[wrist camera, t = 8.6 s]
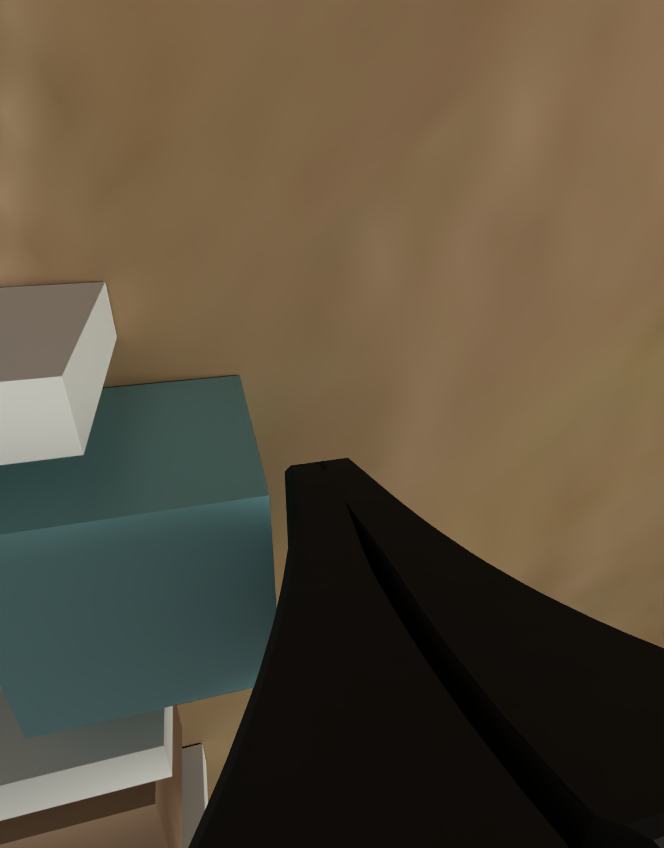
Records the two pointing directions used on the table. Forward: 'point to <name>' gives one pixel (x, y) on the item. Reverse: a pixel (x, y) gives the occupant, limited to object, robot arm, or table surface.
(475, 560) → the robot arm
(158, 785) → the block walnut
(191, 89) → the table surface
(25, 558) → the block teal
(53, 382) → the white divided tray
